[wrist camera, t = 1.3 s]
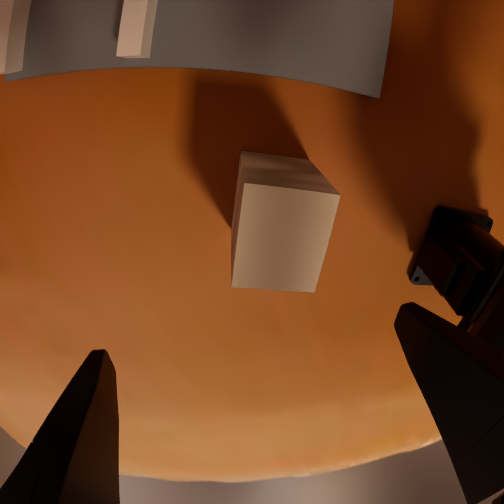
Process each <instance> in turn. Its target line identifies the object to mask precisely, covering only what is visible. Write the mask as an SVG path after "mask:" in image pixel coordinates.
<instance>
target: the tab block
mask: <svg viewBox="0 0 504 504" xmlns="http://www.w3.org/2000/svg"><path fill="white" fill-rule="evenodd" d="M339 199H340V194H339V193H338V192H337V191H336V189H335V188H334V187H333V186H332V185H331V184H330V182H329V181H328V180H327V179H326V178H325V177H324V176H323V174H322V173H321V172H320V171H319V170H318V169H317V168H316V167H315V165H314V164H313V163H312V162H311V161H310V160H308V159H301V158H295V157H287V156H280V155H272V154H264V153H256V152H247V151H241V152H240V160H239V168H238V176H237V184H236V193H235V201H234V209H233V218H232V227H231V287H238V288H252V289H266V290H282V291H298V292H315V289H316V285H317V282H318V278H319V275H320V271H321V268H322V264H323V261H324V257H325V253H326V250H327V246H328V242H329V239H330V235H331V231H332V227H333V223H334V219H335V215H336V211H337V207H338V203H339Z"/></svg>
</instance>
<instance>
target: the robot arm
mask: <svg viewBox="0 0 504 504" xmlns="http://www.w3.org/2000/svg"><path fill="white" fill-rule="evenodd" d="M441 211H442V213H441V214H440V212H441ZM439 214H440V215H439ZM492 225H493V220H492V219H491V218H490V217H488V216H485V215H481V214H477V213H473V212H469V211H465V210H460V209H456V208H452V207H447V206H443V205H439V206H437V207H436V208H435V210H434V213H433V216H432V219H431V222H430V225H429V227H428V230H427V233H426V236H425V238H424V241H423V244H422V246H421V249H420V252H419V254H418V257H417V259H416V262H415V264H414V267H413V269H412V271H411V274H410V276H409V280H410V281H411V283H412V284H414V285H433V286H434V288H435V289H436V290H437V291H438V293H439V294H440V295H441V296H443V297H444V298H445V300H446V301H447V302H448V304H449V305H450V306H451V308H452V309H453V310H454V312H455V313H456V315H458V316H461V317H462V319H461V321H460V322H459V324H458V325H457V326H456V325H454V324H452V323H450V322H449V321H447V320H445V319H443V318H441V317H439V316H438V315H436V314H434V313H432V312H430V311H429V310H427V309H425V308H423V307H421V306H419V305H418V304H416V303H414V302H409V303H405V304H402V305H401V306H400V309H399V311H398V314H397V317H396V319H395V322H394V328H395V331H396V333H397V336H398V338H399V341H400V344H401V346H402V349H403V351H404V354H405V357H406V359H407V362H408V364H409V367H410V369H411V371H412V373H413V375H414V377H415V379H416V382H417V384H418V386H419V388H420V390H421V392H422V394H423V396H424V398H425V401H426V403H427V405H428V407H429V409H430V412H431V414H432V416H433V418H434V421H435V423H436V425H437V427H438V430H439V432H440V434H441V437H442V439H443V441H444V444H445V446H446V449H447V451H448V453H449V456H450V458H451V461H452V464H453V466H454V469H455V471H456V474H457V477H458V479H459V482H460V485H461V487H462V490H463V493H464V496H465V499H466V501H467V504H477V503H479V502H481V501H483V500H485V499H486V498H488V497H490V496H492V495H493V494H495V493H497V492H498V491H500V490H502V489H503V488H504V245H502V244H501V243H500V242H499V241H498V240H497V239H495V238H494V237H493V236H492V235H491V234H489V233H490V230H491V228H492ZM415 277H416V278H415ZM0 504H120V497H119V414H118V401H117V385H116V371H115V367H114V365H113V363H112V361H111V359H110V357H109V354H108V352H107V351H106V350H105V349H99V350H92V351H91V352H90V353H89V355H88V356H87V358H86V359H85V361H84V362H83V363H82V365H81V366H80V368H79V369H78V371H77V372H76V374H75V375H74V377H73V378H72V380H71V381H70V382H69V384H68V385H67V387H66V388H65V390H64V391H63V393H62V394H61V396H60V397H59V399H58V401H57V402H56V404H55V405H54V407H53V408H52V410H51V411H50V413H49V414H48V416H47V418H46V419H45V421H44V422H43V424H42V426H41V427H40V429H39V430H38V432H37V434H36V435H35V437H34V439H33V442H31V443H30V445H29V447H28V448H27V450H26V452H25V453H24V455H23V456H22V458H21V460H20V461H19V463H18V465H17V466H16V467H15V469H14V470H13V472H12V473H11V474H10V476H9V477H8V479H7V480H6V481H5V483H4V484H3V486H2V487H1V488H0ZM492 504H504V492H503V493H502V494H500V495H499V496H498V497H497V498H495V499H494V500H493V501H492Z"/></svg>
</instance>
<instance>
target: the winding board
mask: <svg viewBox="0 0 504 504" xmlns="http://www.w3.org/2000/svg"><path fill="white" fill-rule="evenodd" d="M393 6H394V0H0V74H5V82H7V81H14V80H19V79H25V78H31V77H37V76H43V75H50V74H57V73H65V72H74V71H84V70H96V69H112V68H142V67H163V68H194V69H210V70H223V71H233V72H243V73H251V74H259V75H266V76H273V77H280V78H286V79H292V80H298V81H303V82H308V83H313V84H318V85H323V86H328V87H332V88H337V89H341V90H345V91H349V92H353V93H357V94H361V95H365V96H369V97H373V98H378V99H380V94H381V88H382V83H383V77H384V71H385V65H386V59H387V52H388V45H389V38H390V31H391V23H392V15H393Z"/></svg>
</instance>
